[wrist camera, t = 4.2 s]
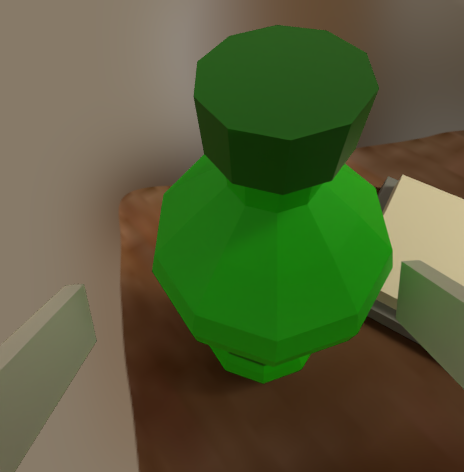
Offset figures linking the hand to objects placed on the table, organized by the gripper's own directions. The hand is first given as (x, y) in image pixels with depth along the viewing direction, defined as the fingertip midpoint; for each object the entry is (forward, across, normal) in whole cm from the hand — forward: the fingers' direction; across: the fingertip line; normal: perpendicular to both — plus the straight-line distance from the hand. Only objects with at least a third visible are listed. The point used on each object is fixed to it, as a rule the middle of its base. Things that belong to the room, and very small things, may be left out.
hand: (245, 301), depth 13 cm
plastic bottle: (+14, +2, -10) cm, 17 cm away
